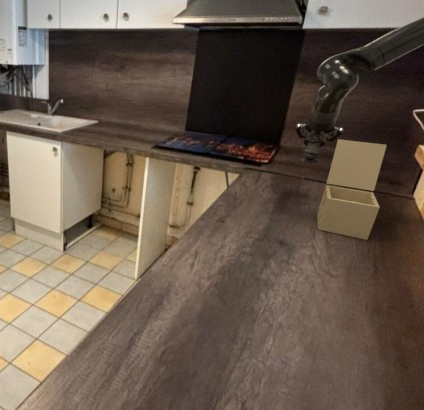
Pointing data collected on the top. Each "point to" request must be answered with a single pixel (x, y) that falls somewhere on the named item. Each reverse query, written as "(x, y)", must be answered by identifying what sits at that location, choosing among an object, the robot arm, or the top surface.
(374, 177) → the lid
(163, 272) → the top surface
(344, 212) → the tan open box
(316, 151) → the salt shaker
